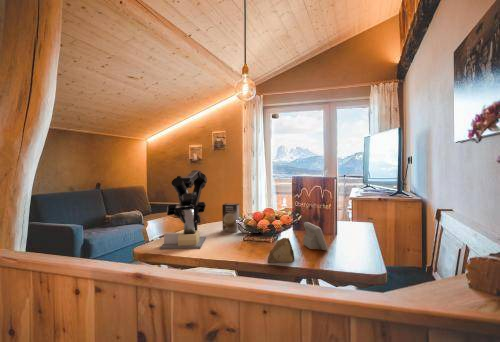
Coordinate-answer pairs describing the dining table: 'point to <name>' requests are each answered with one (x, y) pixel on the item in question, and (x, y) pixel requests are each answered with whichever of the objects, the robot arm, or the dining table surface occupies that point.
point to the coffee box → (230, 217)
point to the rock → (282, 251)
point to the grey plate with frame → (183, 240)
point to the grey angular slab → (314, 237)
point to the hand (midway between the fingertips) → (189, 222)
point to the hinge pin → (188, 221)
